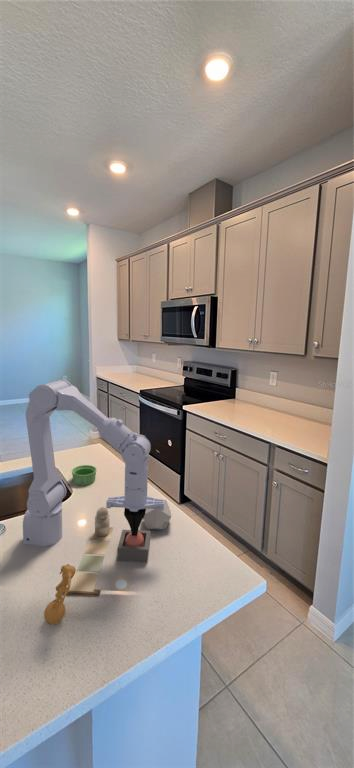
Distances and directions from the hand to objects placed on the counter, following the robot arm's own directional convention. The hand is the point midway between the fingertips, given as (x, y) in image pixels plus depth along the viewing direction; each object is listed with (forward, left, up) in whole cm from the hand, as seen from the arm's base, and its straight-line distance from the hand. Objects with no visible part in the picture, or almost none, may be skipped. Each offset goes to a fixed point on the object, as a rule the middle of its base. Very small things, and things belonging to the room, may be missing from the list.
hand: (134, 533), depth 85 cm
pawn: (-10, +7, -5) cm, 13 cm away
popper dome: (0, 0, -5) cm, 5 cm away
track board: (-10, -2, -6) cm, 12 cm away
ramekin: (-24, +39, -6) cm, 46 cm away
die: (+5, +12, -6) cm, 14 cm away
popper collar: (0, 0, -6) cm, 6 cm away
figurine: (-12, -20, -6) cm, 24 cm away
